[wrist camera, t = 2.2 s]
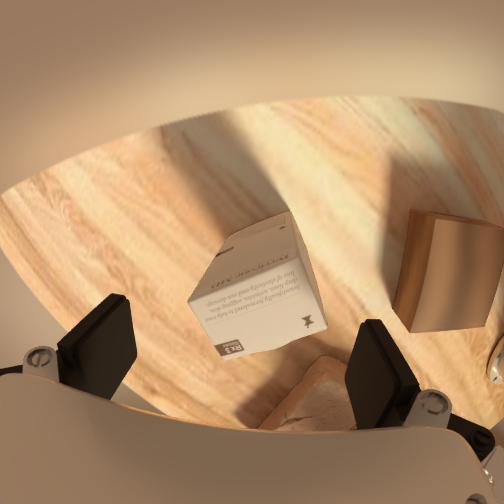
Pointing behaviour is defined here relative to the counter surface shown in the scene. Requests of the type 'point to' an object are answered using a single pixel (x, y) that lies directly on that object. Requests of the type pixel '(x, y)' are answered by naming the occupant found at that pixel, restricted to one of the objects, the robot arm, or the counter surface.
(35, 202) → the counter surface
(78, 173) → the counter surface
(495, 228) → the walnut block
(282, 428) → the brick
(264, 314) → the skincare box
